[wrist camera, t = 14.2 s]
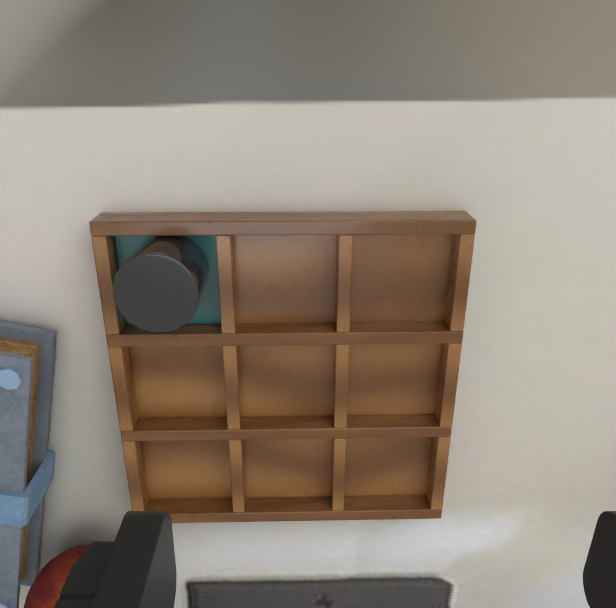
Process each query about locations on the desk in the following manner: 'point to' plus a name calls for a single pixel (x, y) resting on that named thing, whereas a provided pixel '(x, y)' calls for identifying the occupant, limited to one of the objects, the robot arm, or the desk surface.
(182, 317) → the dark grey cylinder
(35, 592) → the apple
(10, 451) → the book
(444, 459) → the board
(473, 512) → the desk surface
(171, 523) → the robot arm
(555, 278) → the desk surface
